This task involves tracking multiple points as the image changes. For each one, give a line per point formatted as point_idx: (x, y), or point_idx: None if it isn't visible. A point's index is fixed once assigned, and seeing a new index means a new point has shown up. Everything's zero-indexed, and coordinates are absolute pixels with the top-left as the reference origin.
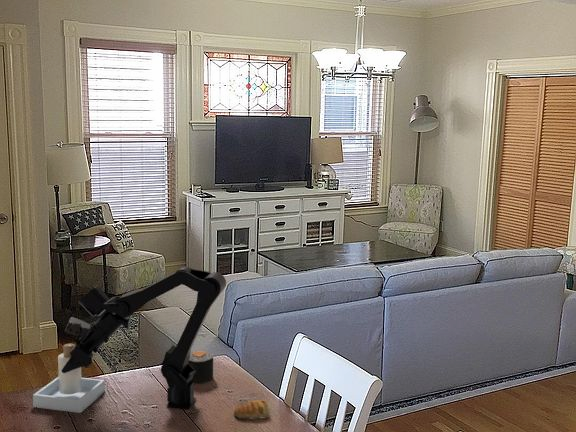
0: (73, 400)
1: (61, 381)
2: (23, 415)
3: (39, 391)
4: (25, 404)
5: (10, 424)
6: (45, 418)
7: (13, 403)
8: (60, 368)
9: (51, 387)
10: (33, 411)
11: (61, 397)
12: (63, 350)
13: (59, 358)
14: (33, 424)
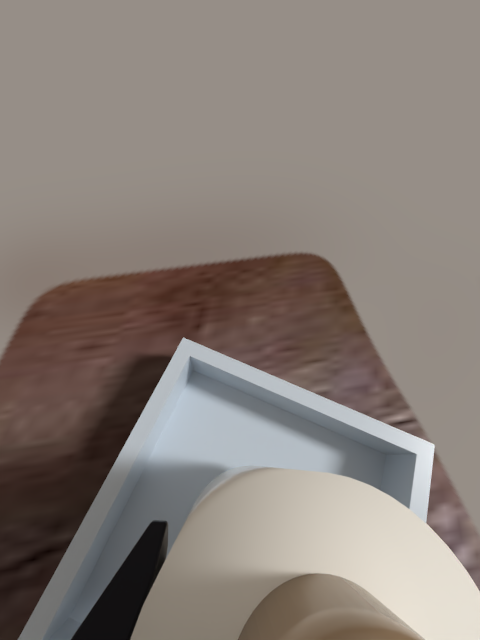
0: (39, 601)
1: (200, 496)
2: (120, 331)
3: (220, 362)
4: (221, 325)
5: (56, 299)
6: (57, 424)
7: (238, 285)
8: (202, 504)
9: (307, 412)
10: (147, 363)
11: (106, 501)
12: (336, 631)
13: (218, 509)
14: (16, 381)
